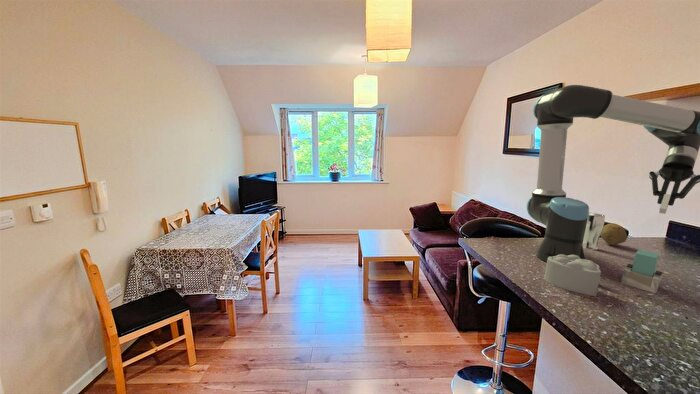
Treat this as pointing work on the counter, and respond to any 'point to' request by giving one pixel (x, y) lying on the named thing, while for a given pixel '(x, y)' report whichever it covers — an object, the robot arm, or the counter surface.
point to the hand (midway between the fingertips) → (662, 210)
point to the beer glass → (593, 230)
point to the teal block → (645, 262)
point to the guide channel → (641, 279)
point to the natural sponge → (613, 234)
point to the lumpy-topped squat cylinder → (573, 273)
